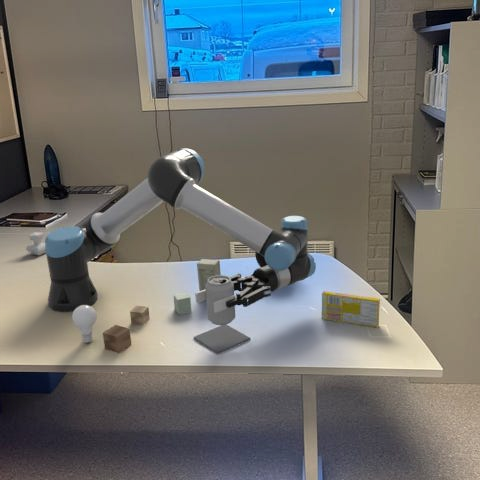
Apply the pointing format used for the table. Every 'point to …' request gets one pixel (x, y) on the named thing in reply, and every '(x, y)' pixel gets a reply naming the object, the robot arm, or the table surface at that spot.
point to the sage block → (182, 303)
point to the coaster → (221, 338)
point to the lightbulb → (84, 321)
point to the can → (216, 291)
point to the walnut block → (117, 338)
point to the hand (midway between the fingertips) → (205, 302)
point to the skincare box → (207, 271)
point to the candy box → (350, 309)
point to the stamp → (36, 244)
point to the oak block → (139, 315)
